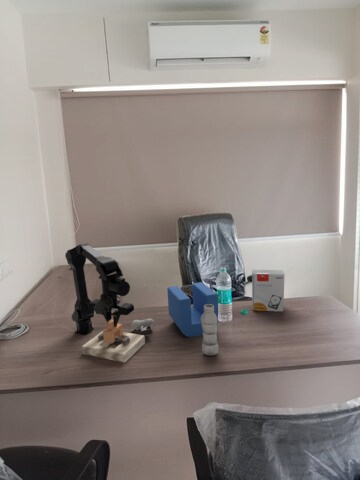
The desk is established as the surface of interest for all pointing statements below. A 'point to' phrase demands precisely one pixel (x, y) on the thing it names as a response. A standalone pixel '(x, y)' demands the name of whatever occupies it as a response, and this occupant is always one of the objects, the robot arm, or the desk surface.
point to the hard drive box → (267, 290)
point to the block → (182, 310)
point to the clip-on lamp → (142, 327)
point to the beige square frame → (120, 353)
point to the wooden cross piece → (112, 332)
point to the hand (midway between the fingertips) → (112, 326)
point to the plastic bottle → (209, 331)
